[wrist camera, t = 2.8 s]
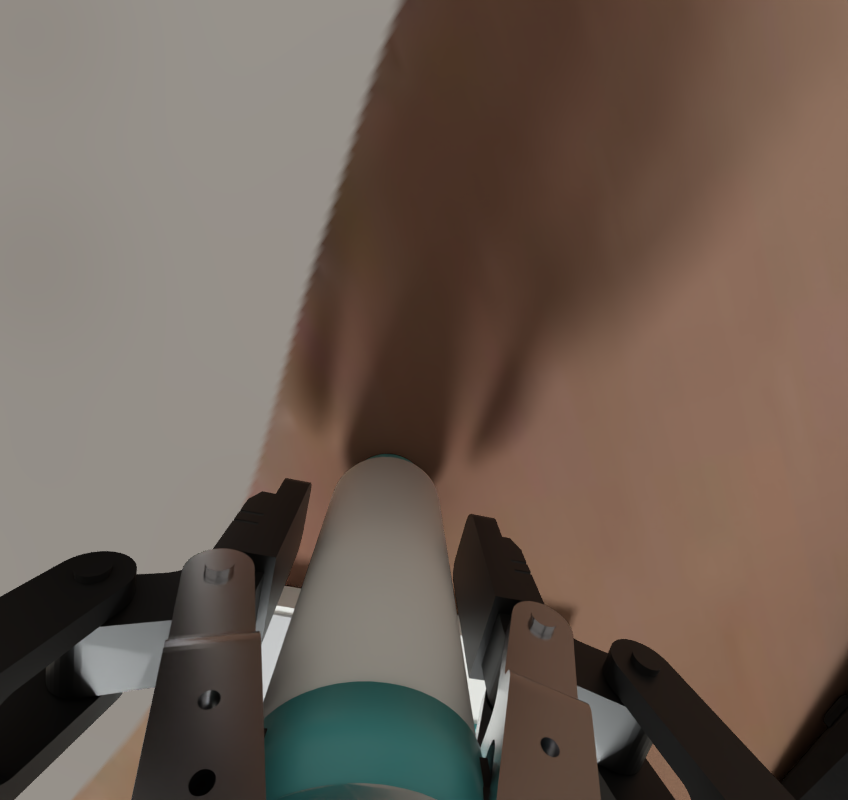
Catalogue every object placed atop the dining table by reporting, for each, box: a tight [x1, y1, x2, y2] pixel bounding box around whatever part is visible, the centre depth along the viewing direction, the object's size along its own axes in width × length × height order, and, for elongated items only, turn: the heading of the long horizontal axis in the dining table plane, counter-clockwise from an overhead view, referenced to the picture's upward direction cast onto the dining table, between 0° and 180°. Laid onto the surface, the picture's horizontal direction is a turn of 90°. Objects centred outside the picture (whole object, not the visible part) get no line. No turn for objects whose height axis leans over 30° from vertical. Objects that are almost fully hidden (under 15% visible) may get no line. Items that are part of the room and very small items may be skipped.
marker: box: [263, 454, 484, 800], centre depth 10 cm, size 4×4×10 cm
